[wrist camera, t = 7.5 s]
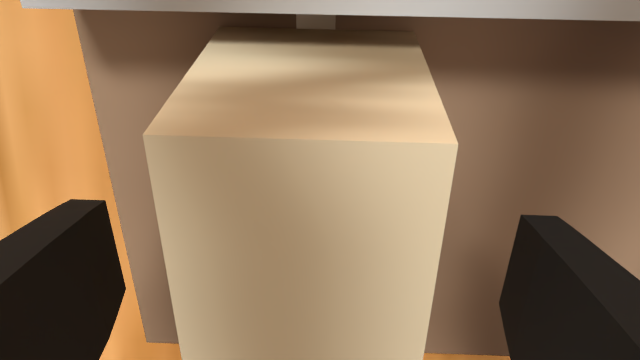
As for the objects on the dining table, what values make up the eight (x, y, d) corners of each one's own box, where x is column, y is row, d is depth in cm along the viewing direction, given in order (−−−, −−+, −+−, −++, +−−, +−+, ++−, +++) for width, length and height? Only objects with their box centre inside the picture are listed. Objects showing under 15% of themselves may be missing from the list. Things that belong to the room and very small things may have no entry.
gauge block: (413, 31, 11) (457, 144, 7) (384, 314, 15) (400, 495, 11) (219, 26, 11) (142, 134, 7) (243, 309, 15) (203, 486, 11)
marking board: (1180, -101, 11) (1481, -84, 8) (858, 331, 17) (962, 427, 14) (79, -117, 11) (-9, -107, 8) (161, 306, 17) (126, 393, 15)
